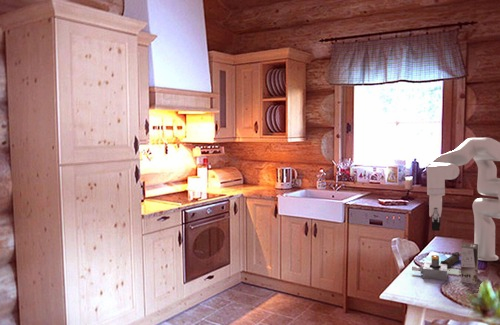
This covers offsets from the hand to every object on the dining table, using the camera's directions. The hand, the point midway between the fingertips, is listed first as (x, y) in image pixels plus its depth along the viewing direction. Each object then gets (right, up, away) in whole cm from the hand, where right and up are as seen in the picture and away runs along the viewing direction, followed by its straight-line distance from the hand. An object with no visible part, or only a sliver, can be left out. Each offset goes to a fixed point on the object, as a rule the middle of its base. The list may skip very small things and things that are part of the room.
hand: (436, 228), depth 196 cm
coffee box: (+12, -23, -6) cm, 27 cm away
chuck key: (0, -22, 0) cm, 22 cm away
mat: (+9, -22, +6) cm, 25 cm away
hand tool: (+16, -21, +19) cm, 32 cm away
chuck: (-3, -23, +1) cm, 23 cm away
